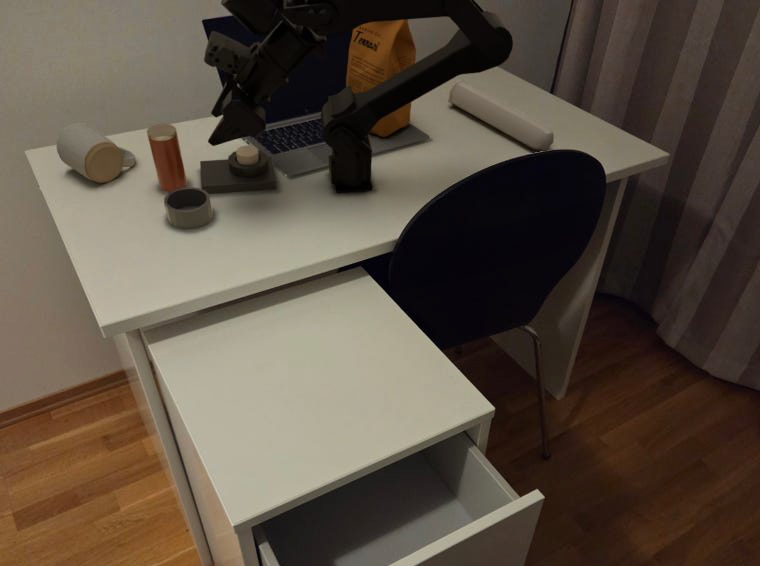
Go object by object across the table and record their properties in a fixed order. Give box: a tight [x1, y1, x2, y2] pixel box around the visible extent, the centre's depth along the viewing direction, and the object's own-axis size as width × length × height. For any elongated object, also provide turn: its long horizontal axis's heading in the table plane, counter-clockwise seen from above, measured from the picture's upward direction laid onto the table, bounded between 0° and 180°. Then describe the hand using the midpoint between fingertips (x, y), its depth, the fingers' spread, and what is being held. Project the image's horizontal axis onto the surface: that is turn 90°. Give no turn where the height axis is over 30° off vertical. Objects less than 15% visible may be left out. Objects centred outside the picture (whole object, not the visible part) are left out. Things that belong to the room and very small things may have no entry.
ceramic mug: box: [56, 122, 136, 184], centre depth 105 cm, size 11×8×8 cm
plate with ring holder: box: [199, 149, 277, 195], centre depth 107 cm, size 12×8×4 cm
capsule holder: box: [163, 186, 214, 230], centre depth 99 cm, size 7×7×4 cm
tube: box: [448, 79, 555, 152], centre depth 126 cm, size 5×5×25 cm
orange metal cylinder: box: [146, 123, 188, 193], centre depth 103 cm, size 4×4×10 cm
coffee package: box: [345, 19, 417, 138], centre depth 118 cm, size 10×12×22 cm
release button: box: [235, 145, 259, 165], centre depth 107 cm, size 4×4×2 cm
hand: (211, 129), depth 100 cm, fingers open, 9 cm apart
